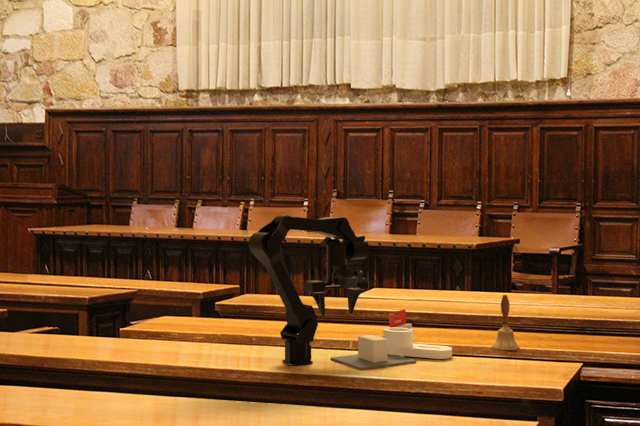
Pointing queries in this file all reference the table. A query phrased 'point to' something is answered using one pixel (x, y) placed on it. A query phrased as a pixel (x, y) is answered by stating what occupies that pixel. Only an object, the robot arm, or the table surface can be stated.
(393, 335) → the bracket
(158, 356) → the table surface
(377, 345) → the card deck box
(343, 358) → the grey rubber mat
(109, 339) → the table surface
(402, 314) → the ink cartridge box
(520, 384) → the table surface
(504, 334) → the hand bell
